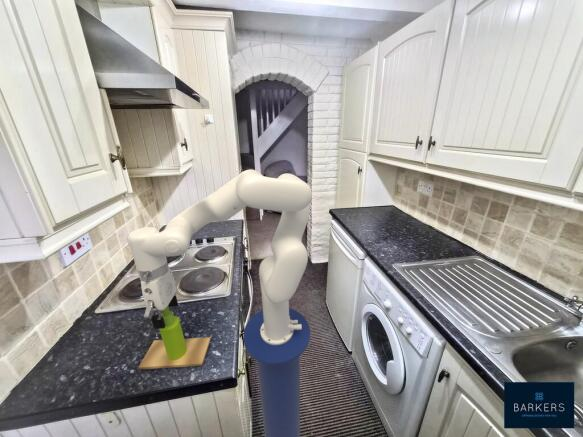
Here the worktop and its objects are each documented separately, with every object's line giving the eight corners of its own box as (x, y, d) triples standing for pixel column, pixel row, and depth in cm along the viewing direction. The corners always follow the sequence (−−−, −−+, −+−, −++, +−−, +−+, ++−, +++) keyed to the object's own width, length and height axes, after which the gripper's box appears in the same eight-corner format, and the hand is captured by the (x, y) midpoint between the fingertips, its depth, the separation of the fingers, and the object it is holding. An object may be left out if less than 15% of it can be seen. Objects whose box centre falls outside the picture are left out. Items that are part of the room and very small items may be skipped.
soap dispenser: (183, 339, 82) (171, 294, 75) (188, 353, 77) (176, 306, 69) (165, 348, 79) (151, 302, 71) (169, 363, 73) (155, 315, 66)
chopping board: (210, 339, 83) (210, 337, 83) (202, 365, 74) (201, 363, 73) (154, 342, 82) (154, 340, 82) (139, 369, 73) (138, 367, 73)
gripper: (151, 288, 58) (166, 339, 64) (179, 253, 74) (189, 296, 80) (120, 290, 57) (139, 340, 64) (155, 254, 73) (167, 297, 80)
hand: (166, 316), depth 72 cm, fingers open, 8 cm apart
